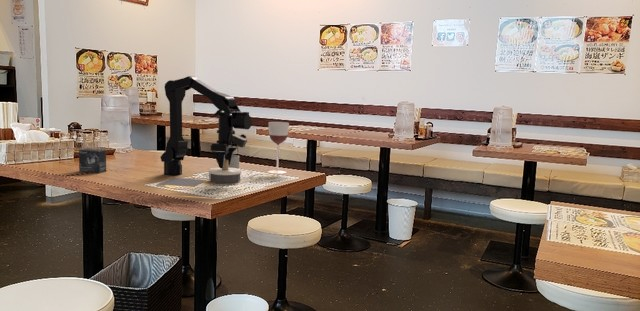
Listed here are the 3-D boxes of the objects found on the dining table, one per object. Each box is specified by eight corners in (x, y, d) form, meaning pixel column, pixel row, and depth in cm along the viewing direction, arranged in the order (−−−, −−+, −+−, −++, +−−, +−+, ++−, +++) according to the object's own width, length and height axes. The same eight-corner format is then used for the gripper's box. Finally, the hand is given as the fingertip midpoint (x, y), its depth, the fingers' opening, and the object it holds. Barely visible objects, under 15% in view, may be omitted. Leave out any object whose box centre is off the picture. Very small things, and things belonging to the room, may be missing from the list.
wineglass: (263, 172, 224) (264, 122, 221) (273, 169, 234) (275, 121, 231) (281, 174, 221) (282, 123, 218) (290, 171, 230) (292, 122, 227)
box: (78, 172, 206) (78, 149, 205) (86, 170, 211) (86, 148, 210) (99, 173, 204) (98, 151, 203) (106, 171, 210) (106, 149, 209)
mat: (158, 185, 185) (158, 184, 185) (173, 179, 199) (173, 177, 199) (194, 188, 183) (194, 186, 183) (207, 181, 197) (207, 180, 197)
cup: (231, 178, 206) (232, 157, 205) (213, 175, 211) (213, 155, 210) (242, 176, 212) (242, 156, 211) (224, 173, 217) (224, 153, 216)
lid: (203, 174, 191) (203, 161, 191) (214, 168, 204) (214, 157, 203) (236, 176, 190) (236, 163, 189) (244, 170, 203) (245, 158, 202)
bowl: (205, 183, 192) (205, 173, 192) (215, 178, 204) (215, 169, 203) (234, 185, 191) (235, 175, 190) (243, 180, 203) (243, 171, 202)
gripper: (238, 130, 184) (237, 171, 186) (251, 127, 203) (250, 164, 205) (210, 129, 186) (209, 169, 188) (225, 125, 204) (224, 162, 206)
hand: (224, 166), depth 197 cm, fingers open, 9 cm apart
